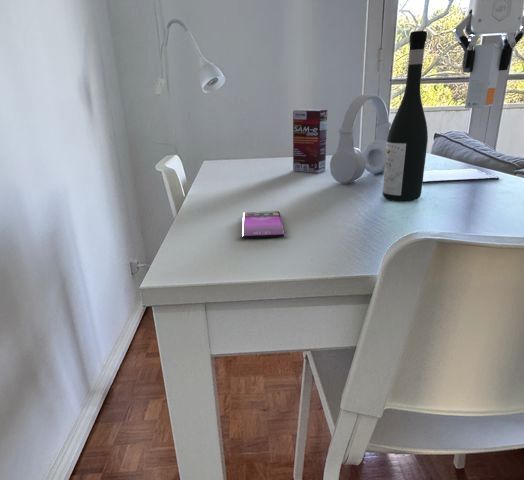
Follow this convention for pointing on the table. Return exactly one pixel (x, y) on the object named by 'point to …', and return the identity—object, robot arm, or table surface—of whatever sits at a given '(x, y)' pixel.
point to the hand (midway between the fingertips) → (484, 70)
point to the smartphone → (262, 224)
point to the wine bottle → (408, 133)
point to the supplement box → (309, 140)
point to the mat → (456, 176)
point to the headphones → (352, 159)
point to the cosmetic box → (484, 76)
